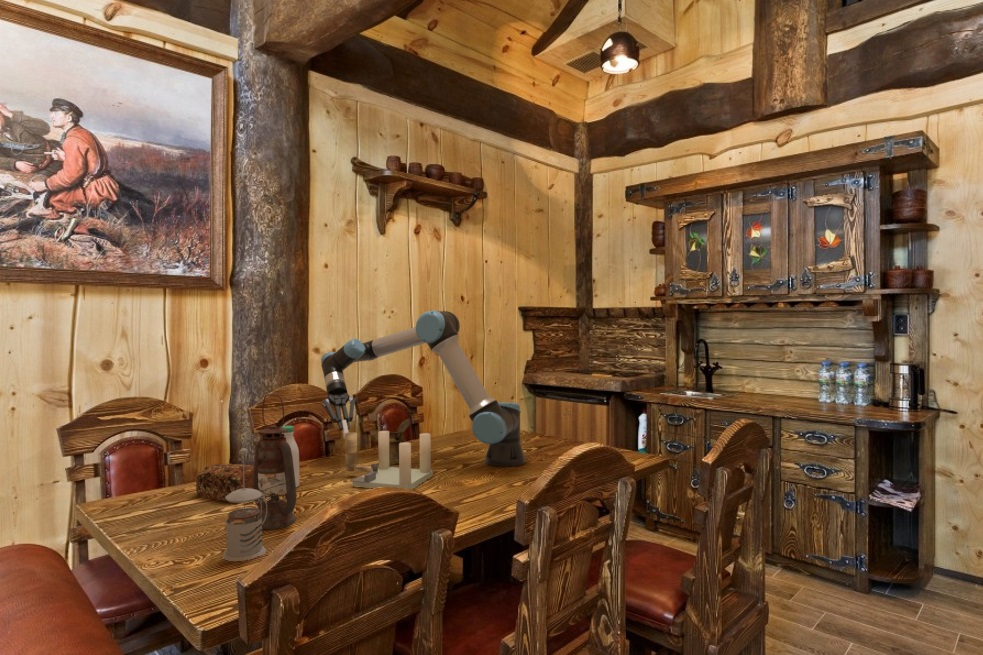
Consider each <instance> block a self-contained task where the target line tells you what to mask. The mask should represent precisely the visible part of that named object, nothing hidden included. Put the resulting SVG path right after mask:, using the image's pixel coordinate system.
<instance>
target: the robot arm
mask: <svg viewBox="0 0 983 655" xmlns="http://www.w3.org/2000/svg"><path fill="white" fill-rule="evenodd" d="M460 328H461V324H460V320H459V318H458V317H457V315H455V314H454V313H453V312H451V311H448V310H446V311H445V310H432V309H431V310H428V311H426V312H423V313H422V314H421V315H420V316H418V318H417V321H416V323H415V326H413V327H410V328H407V329H405V330H404V329H403V330H401V331H398V332H395V333H391V334H388V335H385V336H382V337H379V338H375V339H371V340H368V341H366V342H362V341H361V340H359V339H357V338H352V339H350V340H349V341H347V342H345V344H344V345H343V346H341V347H340V348H339V349H338V350H337V351H336V352H335V351H329V352H326V353H324V354H323V355H322V356H321V358H320V360H321V362H320V363H321V369H322V373H323V379H324V383H325V384H324V385H325V388H326V395H327V398H326V399H323V400H322V402H321V405H322V406H323V408H324V409H325V411H326V412H327V414H328V416H329V419H330V420H331V422H332V424H337V426H338V431H342V436H343V440H345V433H348V432H350V431H349V430H350V428H351V426H350V423H352V421H353V420H354V412H355V410H354V409H355V404H356V400H357V398H356V397H353V398H352V397H350V395H349V393H348V389H347V385H346V381H345V375H344V371H345V369H347V368H348V367H350V366H351V365H352V364H354V363H359V362H364V361H368V362H369V361H370V362H371V361H375V360H376V359H378V358H380V357H384V356H387V355H391V354H393V353H397V352H399V351H404V350H407V349H411V348H413V347H417V346H420V345H423V344H427V346H428V348H429V349H430V351H431V352H432V353H435V354H437V355H438V357H439V358H440V360H441V361H442V363H443V365H444V367H445V370H447V372H448V374H449V376H450V377H451V379H452V380H453V381H452V382H453V383H454V384H455V386H456V388H457V389H458V392H459V393H460V395H461V397H462V398H463V400H464V402H465V404H466V406H467V407H468V409H469V413H468V417H469V419H470V421H471V422H472V424H471V430H472V433H473V435H474V437H475V438H476V439H477V440H478V441H479V442H481V443H483V444H486V445H488V447H487V450H486V454H485V457H484V458H485V460H484V461H485V464H487V465H489V466H492V467H493V466H494V467H501V468H504V467H505V468H506V467H507V468H509V467H511V468H512V467H517V466H522V465H524V464H525V463H526V461H525V460H526V458H525V453H524V449H523V447H522V444H521V405H520V404H519V403H517V402H502V401H501V402H500V401H499V402H498V400H497V399H496V398H493V397H490V395H489V393H488V391H487V390H486V388H485V386H484V385H483V383H482V381H481V379H480V378H479V376H478V374H477V373H476V370H475V369H474V368H473V365H472V364H471V362H470V360H469V358H468V357H467V355H466V354H465V352H464V350H463V348H462V346H461V345H460V344H459V338H460V335H459V332H460ZM348 402H349V412H348V409H347V404H348ZM331 405H332V406H333V408H334V410H333V408H332V406H331ZM341 412H342V413H341ZM348 413H349V414H348ZM342 417H343V419H342Z"/></svg>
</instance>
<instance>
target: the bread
mask: <svg viewBox="0 0 983 655" xmlns="http://www.w3.org/2000/svg"><path fill="white" fill-rule="evenodd" d="M253 472H254V465H250V464H244V488H249V489H253ZM262 479H263V478H262ZM262 481H263V480H262ZM195 483H196V485H195V490H196V495H197V497H199V498H204V499H209V498H210V499H209V500H216V501H221V500H222V501H224V502H227V500H226V498H225V497H226V496H227V495H229V494H230V493H231V492H233V491H235V490H239V489H242V488H243V463H241V464H239V463H235V464H233V463H215V464H211V465H208V466H205V467H204V468H203V469H202V470H201V471H200V472H199V473H198V474H197V476H196V477H195ZM262 487H263V484H262Z"/></svg>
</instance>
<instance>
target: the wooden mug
mask: <svg viewBox="0 0 983 655" xmlns="http://www.w3.org/2000/svg"><path fill="white" fill-rule="evenodd" d="M410 425H411V419H410V418H409V417H408V418H406V419H404V420H403V421H401V423H399V425H398V427H397V430H396V431H395V432H394V431H389V466H395V465H394V464H396V465H399V443H403V442H406V436H405V434H404V433H405V432H406V430H407V429H408V428H409V427H410Z"/></svg>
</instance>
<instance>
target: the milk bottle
mask: <svg viewBox="0 0 983 655" xmlns="http://www.w3.org/2000/svg"><path fill="white" fill-rule="evenodd" d="M281 426H282V425H281ZM282 428H286V429H288V431H286V432H283V433H282V434H284V435H285V436H284V437H286V442H287V443H288V444H289V445H290V448H291V451H292V458H293V466H294V474H295V484H296V488H298V487H299V486H300V451H299V447H298V446H299V445H298V444H297V442H296V440H295V437H294V434H295V427H294V426H293V425H283V426H282ZM284 473H285V472H284ZM278 474H279V473H278ZM276 476H277V474H274V477H275V479H276ZM284 479H285V477H284ZM285 481H286V480H285ZM285 481H284V482H285ZM277 482H278V481H277ZM282 483H283V482H281V484H282ZM275 485H277V484H275ZM278 486H279V485H278ZM278 486H277V487H278ZM275 487H276V486H275ZM283 487H284V485H283V486H282V488H283ZM280 491H283V489H281V490H280Z"/></svg>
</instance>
